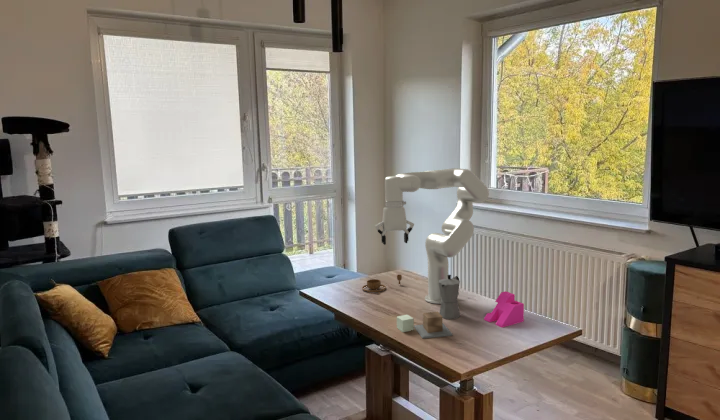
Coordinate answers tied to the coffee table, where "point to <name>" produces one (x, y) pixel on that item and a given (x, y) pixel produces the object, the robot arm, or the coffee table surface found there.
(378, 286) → the place setting
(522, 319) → the pink angular chunky piece
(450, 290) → the coffeepot
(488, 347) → the coffee table surface
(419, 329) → the slate coaster
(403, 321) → the pale green block
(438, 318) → the walnut cube
